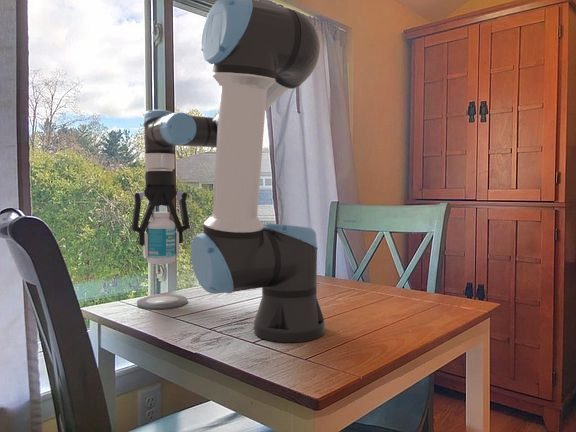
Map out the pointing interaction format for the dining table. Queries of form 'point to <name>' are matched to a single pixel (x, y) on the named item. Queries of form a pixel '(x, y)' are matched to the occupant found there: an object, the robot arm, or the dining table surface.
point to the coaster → (162, 302)
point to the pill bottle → (161, 239)
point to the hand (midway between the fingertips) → (161, 256)
